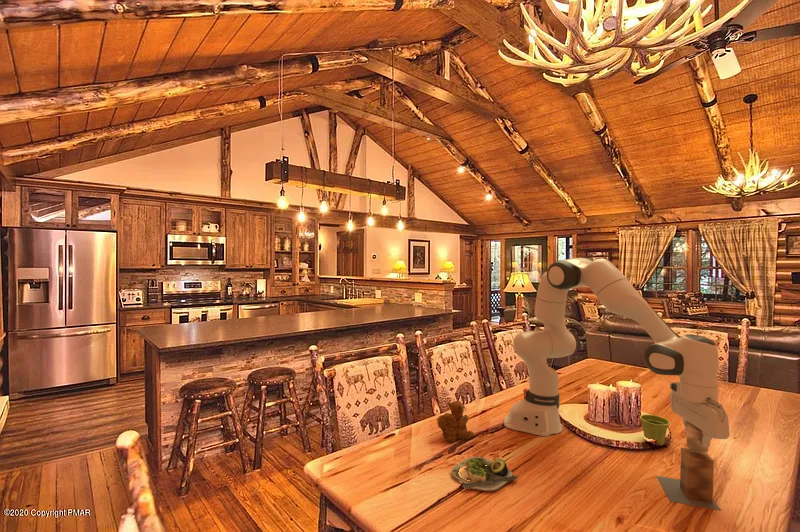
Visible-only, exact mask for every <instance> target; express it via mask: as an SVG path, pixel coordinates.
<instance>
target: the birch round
mask: <svg viewBox="0 0 800 532" xmlns="http://www.w3.org/2000/svg"><path fill="white" fill-rule="evenodd" d="M700 438H703V434H702V430H700V429H699V428H697V427H696V426H694V425H693V424H687V434H686V448H688V449H692V450H695V451H699V452H707V453H708V452H709V447H704V446H703V445H701V444H700Z"/></svg>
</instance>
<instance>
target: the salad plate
mask: <svg viewBox="0 0 800 532" xmlns="http://www.w3.org/2000/svg"><path fill="white" fill-rule="evenodd" d="M485 465H487V466H485ZM463 466H466V467H467V468H466V469H467V475H468V479H469V478H470V481H467V480H465V479H466V478H465V479H463V478H464V477H463V478H461V477H460V476H459V474H458V472H459V469H460V468H461V467H463ZM451 475H452V477H453V478H454V479H456V481H458V480H459V481H461V482H462V483H464V484H462V483H461V484H462V486H461V487H462V488H463V489H467V490H470V489H471V488H472V490H475V489H477V491H484V492H485V491H486V492H493V491H497V490H499V489H500V488H502V487H503V486H505V485H507V484H508V483H510V482H512V481H514V480H517V479H518V478H519V477H518V475H514V474H513V472H512V470H511V469H509V468H508V465H507V463H506V461H505V460H504V459H501V458H497V459H494V460H493V461H492V460H491V459H488V458H486V457H483V456H470V457H468V458H466V459H464V460H463V461H461V462H459V463H457V464H456V465H454V466H453V467H452V468H451ZM459 481H458V482H459Z"/></svg>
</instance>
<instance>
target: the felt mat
mask: <svg viewBox="0 0 800 532" xmlns="http://www.w3.org/2000/svg"><path fill="white" fill-rule="evenodd" d="M655 477H656V478H657V480H658V483H659V484H660V486H661V489H662V490H663V492H664V493H665V495H666V498H667V499H668V501H669V502H670V503H676V504H681V505H686V506H687V505H688V506H692V507H698V508H703V509H709V510H716V511H721V512H722V509H721V508H720V507H719V505H718V504H717V502H716V501H715V500H714V499H713V503H707V502H702V501H696V500H690V499H687V498H686V496H685V495H684V493H683V491H682V490H681V488H680V478H679V479H678V478H674V477H673V478H672V477H666V476H661V475H655Z"/></svg>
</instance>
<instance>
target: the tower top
mask: <svg viewBox="0 0 800 532" xmlns="http://www.w3.org/2000/svg"><path fill="white" fill-rule="evenodd" d="M714 462H715V460H714V459H713V458H712V457H711V456H710V455H709V453H708V452H699V451H695V450H692V449H690V448H688V447H680V468H681V469H682V470H683V472H684V473H685V475H686V476H687V478H691V479H697V480H703V481H709V482H713V483H714V464H715V463H714Z"/></svg>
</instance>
